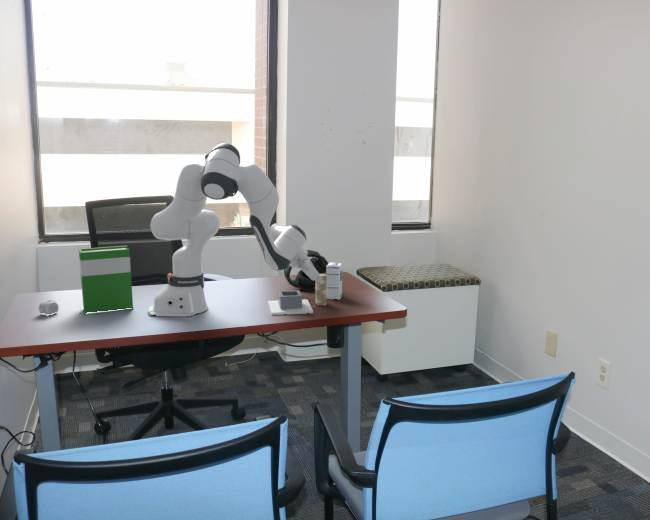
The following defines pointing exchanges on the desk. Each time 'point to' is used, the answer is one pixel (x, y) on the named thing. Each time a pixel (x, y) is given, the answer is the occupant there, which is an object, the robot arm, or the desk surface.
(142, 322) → the desk surface
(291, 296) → the socket
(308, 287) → the headset
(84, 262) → the hardback book
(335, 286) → the syrup box
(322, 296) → the peg
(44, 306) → the die
